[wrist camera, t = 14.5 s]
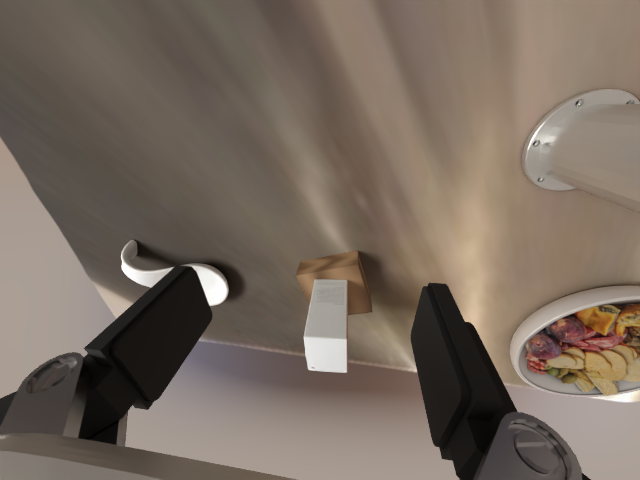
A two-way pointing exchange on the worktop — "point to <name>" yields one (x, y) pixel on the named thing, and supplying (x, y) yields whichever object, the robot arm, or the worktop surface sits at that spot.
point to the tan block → (338, 278)
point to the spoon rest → (208, 275)
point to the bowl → (582, 344)
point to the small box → (327, 327)
